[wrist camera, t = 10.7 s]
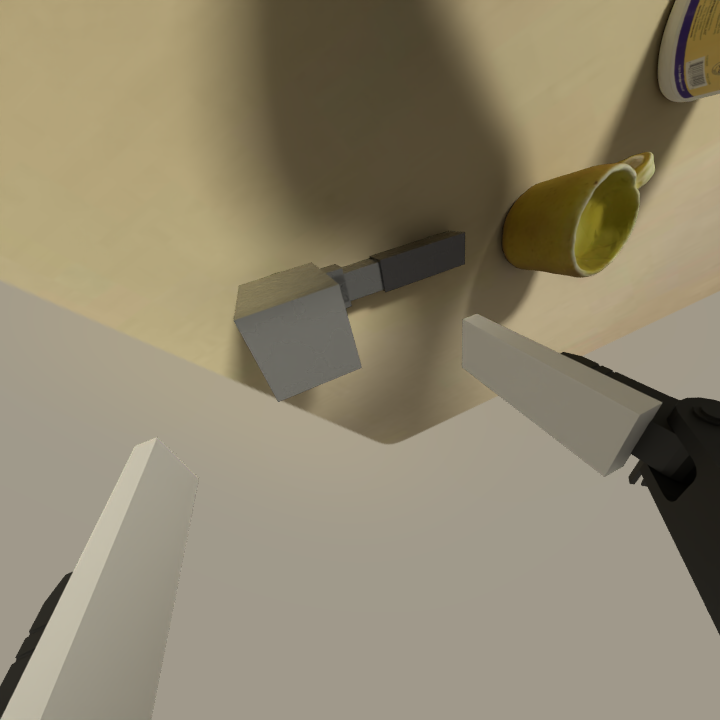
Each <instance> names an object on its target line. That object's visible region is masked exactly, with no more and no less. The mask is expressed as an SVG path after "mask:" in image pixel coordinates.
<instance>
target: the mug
mask: <svg viewBox="0 0 720 720" xmlns="http://www.w3.org/2000/svg"><path fill="white" fill-rule="evenodd" d="M654 172H655V165H654V155H653V154H652V153H651V152H644V153H640V154H637V155H633V156H630V157H629V158H627V159H624V160H622V161H619V162H618V163H613V164H604V165H597V166H593V167H590V168H587V169H583V170H580V171H577V172H574V173H570V174H567V175H564V176H560V177H557V178H554V179H551V180H548V181H545V182H541V183H538V184H536V185H534V186H532V187H531V188H529V189H528V190H527V191H526V192H525V193H524V194H522V195H521V196H520V197H519V198H518V199H517V201H516V202H515V203H514V204H513V206H512V207H511V209H510V211H509V213H508V215H507V217H506V220H505V223H504V226H503V239H502V248H503V252H504V254H505V257H506V259H507V260H508V261H509V262H510V263H511V264H512V265H514V266H515V267H517V268H520V269H525V270H535V271H543V272H548V273H553V274H561V275H567V276H573V277H589V276H592V275H595V274H597V273H598V272H600V271H602V270H603V269H604V268H605V267H606V266H608V265H609V264H610V263H611V262H613V260H614V259H615V258H616V257H617V255H618V254H619V252H620V251H621V249H622V248H623V246H624V245H625V243H626V242H627V241H628V238H629V237H630V235H631V233H632V231H633V228H634V225H635V223H636V219H637V216H638V212H639V207H640V193H639V191H638V189H639V188H640V187H642V186H643V185H645V184H646V183H647V182H648V181H649V180H650V178H651V177H652V176H653V174H654Z"/></svg>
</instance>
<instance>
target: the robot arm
mask: <svg viewBox="0 0 720 720" xmlns="http://www.w3.org/2000/svg"><path fill="white" fill-rule="evenodd" d="M462 368H464V369H465V370H466V371H468V372H469V373H470V374H471V375H473V376H474V377H475V378H477V379H478V380H479V381H481V382H482V383H483V384H484V385H486V386H487V387H488V388H490V389H491V390H492V391H493V392H495V393H496V394H497V395H499V396H500V397H501V398H503V399H504V400H505V401H506V402H508V403H509V404H510V405H512V406H513V407H514V408H516V409H517V410H518V411H520V412H521V413H522V414H523V415H525V416H526V417H527V418H529V419H530V420H531V421H533V422H534V423H535V424H536V425H538V426H539V427H540V428H542V429H543V430H544V431H545V432H547V433H548V434H549V435H551V436H552V437H553V438H555V439H556V440H557V441H559V442H560V443H561V444H563V445H564V446H565V447H566V448H568V449H569V450H570V451H571V452H573V453H574V454H575V455H577V456H578V457H579V458H581V459H582V460H583V461H584V462H586V463H587V464H588V465H590V466H591V467H592V468H593V469H595V470H596V471H598V472H599V473H600V474H601V475H603V476H604V477H605V476H607V475H609V474H610V473H612V472H614V471H616V470H618V469H619V468H621V467H623V466H624V464H625V463H626V461H627V459H628V458H629V456H630V455H631V454H632V455H634V456H635V457H637V458H638V459H640V460H639V462H638V463H637V465H636V466H635V468H634V469H633V471H632V472H631V474H630V476H629V482H630V484H635V483H636V481H637V480H638V478H639V477H640V476H641V474H642V476H643V478H644V479H643V480H642V483H641V485H642V486H647V487H648V489H649V491H650V493H651V495H652V497H653V499H654V501H655V503H656V505H657V507H658V509H659V511H660V513H661V515H662V517H663V520H664V522H665V524H666V526H667V528H668V530H669V532H670V534H671V536H672V538H673V540H674V542H675V544H676V546H677V548H678V550H679V552H680V555H681V557H682V559H683V561H684V563H685V565H686V567H687V569H688V571H689V573H690V575H691V577H692V579H693V581H694V583H695V585H696V587H697V589H698V591H699V594H700V596H701V597H702V600H703V602H704V603H705V606H706V608H707V610H708V612H709V614H710V616H711V618H712V620H713V622H714V624H715V626H716V628H717V630H718V633H719V634H720V402H719V401H716V400H712V399H705V398H685V399H683V400H678V399H675V398H673V397H670V396H668V395H666V394H663V393H661V392H659V391H657V390H654V389H652V388H650V387H648V386H646V385H644V384H641V383H639V382H637V381H635V380H633V379H630V378H628V377H626V376H624V375H621V374H619V373H617V372H615V373H614V372H613V371H612V370H611V369H609V368H606V367H604V366H599V364H598V363H595V362H593V361H591V360H589V359H587V358H584V357H582V356H578V355H574V354H570V353H566V352H563V353H558V352H556V351H554V350H552V349H550V348H548V347H545V346H543V345H541V344H539V343H537V342H535V341H533V340H531V339H529V338H527V337H525V336H523V335H520V334H518V333H516V332H514V331H512V330H510V329H508V328H506V327H504V326H502V325H500V324H498V323H495V322H493V321H491V320H489V319H487V318H485V317H483V316H481V315H479V314H475V315H472V316H470V317H467V318H464V319H463V329H462ZM198 481H199V478H198V477H197V476H196V475H195V474H194V473H193V472H192V471H191V470H190V469H189V468H188V467H187V466H186V465H185V464H184V463H183V462H182V461H181V460H180V459H179V458H178V457H177V456H176V455H175V454H174V453H173V452H172V451H171V450H170V449H169V448H168V447H167V446H166V445H165V444H164V443H163V442H162V441H161V440H160V439H159V438H154V439H151V440H149V441H146V442H144V443H141V444H138V445H136V446H135V447H134V449H133V451H132V453H131V455H130V457H129V459H128V462H127V463H126V465H125V468H124V470H123V472H122V474H121V476H120V478H119V480H118V482H117V484H116V486H115V488H114V490H113V492H112V494H111V496H110V498H109V500H108V502H107V504H106V506H105V508H104V510H103V512H102V514H101V516H100V518H99V521H98V522H97V524H96V527H95V528H94V531H93V533H92V535H91V537H90V539H89V541H88V543H87V545H86V547H85V549H84V551H83V553H82V555H81V557H80V559H79V561H78V563H77V565H76V567H75V569H74V571H73V572H71V573H69V574H66V575H65V576H64V578H63V579H62V580H61V581H60V583H59V584H58V585H57V587H56V588H55V589H54V591H53V592H52V593H51V595H50V596H49V597H48V599H47V600H46V601H45V603H44V604H43V606H42V608H41V610H40V612H39V614H38V616H37V618H36V620H35V621H34V623H33V625H32V627H31V629H30V631H29V632H30V635H29V637H27V638H26V639H25V640H24V642H23V644H22V646H21V648H20V650H19V652H18V654H17V656H16V659H17V660H16V662H15V663H14V664H12V665H11V667H10V669H9V671H8V673H7V674H6V676H5V678H4V680H3V682H2V684H1V686H0V720H151V718H152V713H153V708H154V703H155V698H156V693H157V688H158V682H159V678H160V673H161V667H162V662H163V657H164V652H165V647H166V642H167V637H168V632H169V627H170V622H171V617H172V612H173V607H174V602H175V597H176V592H177V587H178V581H179V577H180V572H181V567H182V562H183V557H184V552H185V546H186V542H187V537H188V531H189V526H190V521H191V516H192V511H193V505H194V501H195V496H196V491H197V486H198Z"/></svg>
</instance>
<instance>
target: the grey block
mask: <svg viewBox="0 0 720 720" xmlns="http://www.w3.org/2000/svg"><path fill="white" fill-rule="evenodd" d="M234 322H235V324H236V326H237V328H238V329H239V331H240V333H241V335H242V337H243V338H244V340H245V342H246V344H247V346H248V348H249V349H250V351H251V353H252V355H253V357H254V359H255V360H256V362H257V364H258V366H259V368H260V370H261V371H262V373H263V375H264V377H265V379H266V380H267V382H268V384H269V386H270V388H271V390H272V391H273V393H274V395H275V397H276V399H277V401H278V402H280V401H282V400H284V399H287V398H289V397H292V396H294V395H297V394H299V393H301V392H304V391H306V390H309V389H311V388H314V387H316V386H318V385H321V384H323V383H326V382H328V381H331V380H333V379H335V378H338V377H340V376H343V375H345V374H347V373H350V372H352V371H355V370H357V369H360V368H362V366H361V363H360V359H359V356H358V352H357V348H356V345H355V341H354V337H353V334H352V330H351V326H350V323H349V319H348V315H347V312H346V308H345V304H344V301H343V297H342V294H341V290H340V286H339V284H338V283H337V282H336V281H334V280H333V279H332V278H331V277H329V276H328V275H327V274H326V273H324V272H323V271H322V270H321V269H319V268H318V267H317V266H316V265H314V264H313V263H312V262H311V263H308V264H305V265H302V266H299V267H295V268H292V269H289V270H286V271H283V272H280V273H277V274H274V275H271V276H267V277H264V278H261V279H258V280H255V281H252V282H249V283H246V284H243V285H239V287H238V294H237V301H236V308H235V315H234Z"/></svg>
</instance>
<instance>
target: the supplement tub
mask: <svg viewBox="0 0 720 720" xmlns="http://www.w3.org/2000/svg"><path fill="white" fill-rule="evenodd" d="M658 82H659V87H660V90H661V92H662V94H663V95H664V96H665V97H666V98H667V99H669V100H671V101H674V102H690V101H694V100H697V99H700V98H704V97H708V96H712V95H716V94H720V0H676V1H675V3H674V6H673V8H672V10H671V13H670V16H669V18H668V21H667V24H666V27H665V31H664V34H663V38H662V42H661V47H660V52H659V60H658Z"/></svg>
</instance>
